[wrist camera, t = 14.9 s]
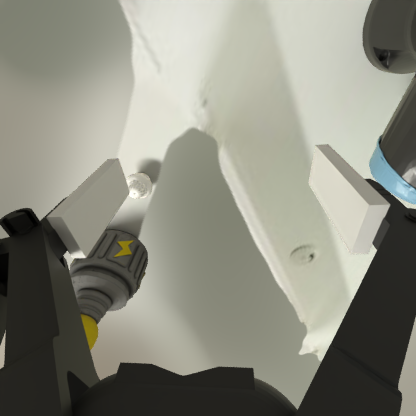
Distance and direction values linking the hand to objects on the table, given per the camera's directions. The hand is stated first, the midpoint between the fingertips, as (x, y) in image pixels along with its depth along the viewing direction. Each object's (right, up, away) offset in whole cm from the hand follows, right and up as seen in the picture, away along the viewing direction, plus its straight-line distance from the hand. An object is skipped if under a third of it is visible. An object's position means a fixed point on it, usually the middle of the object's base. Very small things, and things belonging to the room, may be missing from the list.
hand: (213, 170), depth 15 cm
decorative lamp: (-28, -16, +54) cm, 63 cm away
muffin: (-16, +4, +39) cm, 42 cm away
